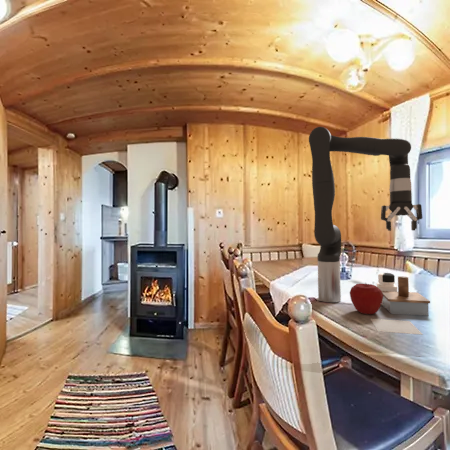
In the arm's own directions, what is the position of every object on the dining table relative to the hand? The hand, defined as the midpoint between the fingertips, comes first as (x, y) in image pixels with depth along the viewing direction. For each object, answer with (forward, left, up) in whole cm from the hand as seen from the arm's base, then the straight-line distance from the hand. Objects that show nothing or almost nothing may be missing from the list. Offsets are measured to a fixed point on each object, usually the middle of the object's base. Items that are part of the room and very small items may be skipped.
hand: (401, 230), depth 118 cm
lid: (-2, -9, -25) cm, 27 cm away
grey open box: (-2, -9, -30) cm, 31 cm away
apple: (-16, -16, -30) cm, 38 cm away
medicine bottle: (-5, +4, -30) cm, 31 cm away
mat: (-10, -29, -30) cm, 43 cm away
